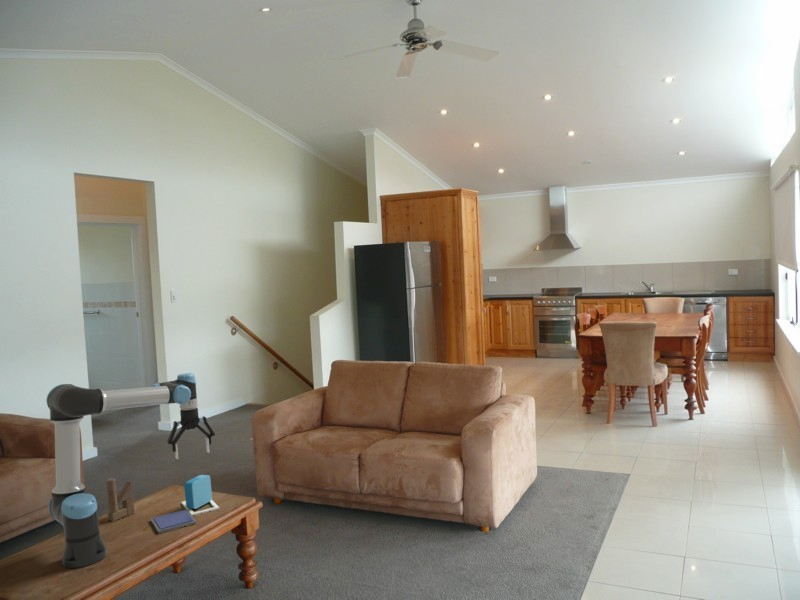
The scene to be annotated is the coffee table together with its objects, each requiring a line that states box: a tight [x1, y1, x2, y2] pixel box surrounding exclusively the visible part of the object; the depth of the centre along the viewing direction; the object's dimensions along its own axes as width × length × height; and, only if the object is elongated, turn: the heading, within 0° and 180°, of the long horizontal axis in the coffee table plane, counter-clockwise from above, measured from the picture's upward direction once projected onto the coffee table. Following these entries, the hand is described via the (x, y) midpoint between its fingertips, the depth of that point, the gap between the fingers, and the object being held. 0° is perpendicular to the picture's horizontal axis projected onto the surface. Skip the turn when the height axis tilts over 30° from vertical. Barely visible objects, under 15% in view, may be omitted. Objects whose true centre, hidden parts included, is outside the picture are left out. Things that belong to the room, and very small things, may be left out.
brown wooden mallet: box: [105, 477, 136, 522], centre depth 281 cm, size 4×11×18 cm, turn 147°
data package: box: [183, 474, 213, 510], centre depth 287 cm, size 12×4×12 cm, turn 156°
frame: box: [180, 498, 220, 517], centre depth 288 cm, size 12×19×1 cm, turn 31°
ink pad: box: [150, 508, 197, 535], centre depth 271 cm, size 15×17×2 cm
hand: (192, 455), depth 286 cm, fingers open, 13 cm apart
